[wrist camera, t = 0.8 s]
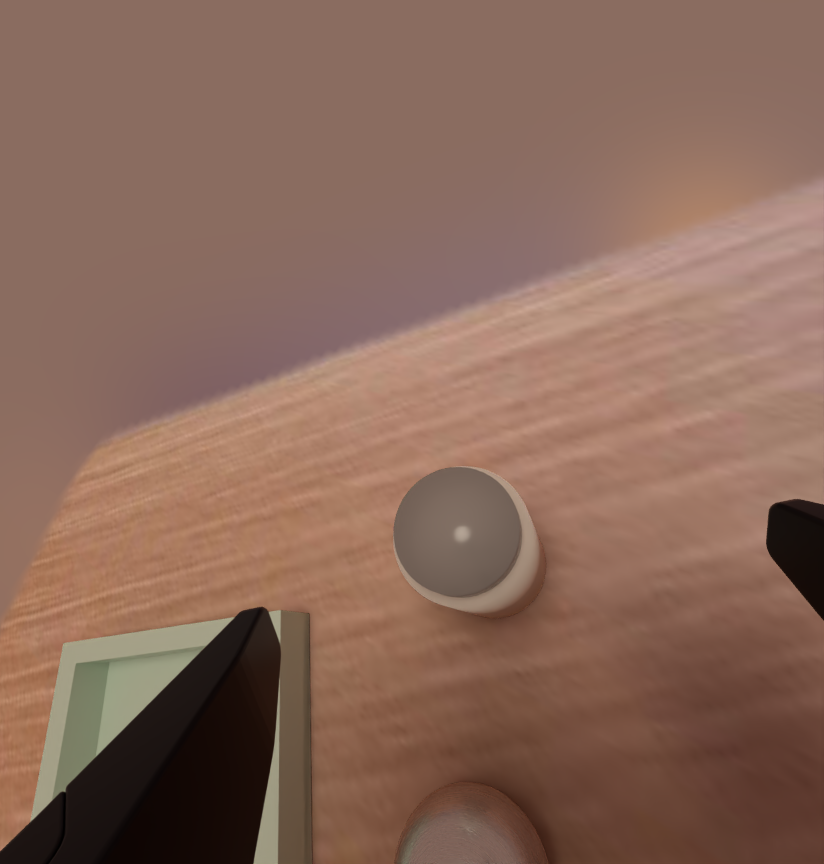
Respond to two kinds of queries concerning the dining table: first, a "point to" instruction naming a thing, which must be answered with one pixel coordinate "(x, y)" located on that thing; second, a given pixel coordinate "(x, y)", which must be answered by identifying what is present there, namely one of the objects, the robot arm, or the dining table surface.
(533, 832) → the ball
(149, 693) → the tray
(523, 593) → the shaker
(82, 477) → the dining table surface
